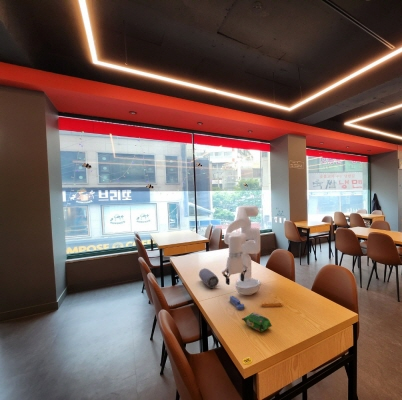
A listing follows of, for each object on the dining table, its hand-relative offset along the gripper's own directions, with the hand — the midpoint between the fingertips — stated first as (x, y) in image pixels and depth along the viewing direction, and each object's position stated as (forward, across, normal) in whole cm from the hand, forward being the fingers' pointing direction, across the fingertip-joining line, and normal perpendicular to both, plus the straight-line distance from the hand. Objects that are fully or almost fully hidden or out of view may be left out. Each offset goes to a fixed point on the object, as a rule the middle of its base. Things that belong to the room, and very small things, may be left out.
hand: (235, 282), depth 139 cm
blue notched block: (+14, -1, +1) cm, 14 cm away
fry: (+14, -17, +15) cm, 26 cm away
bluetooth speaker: (+13, +1, -43) cm, 45 cm away
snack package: (+14, +2, +28) cm, 32 cm away
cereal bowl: (+14, -15, -11) cm, 23 cm away
